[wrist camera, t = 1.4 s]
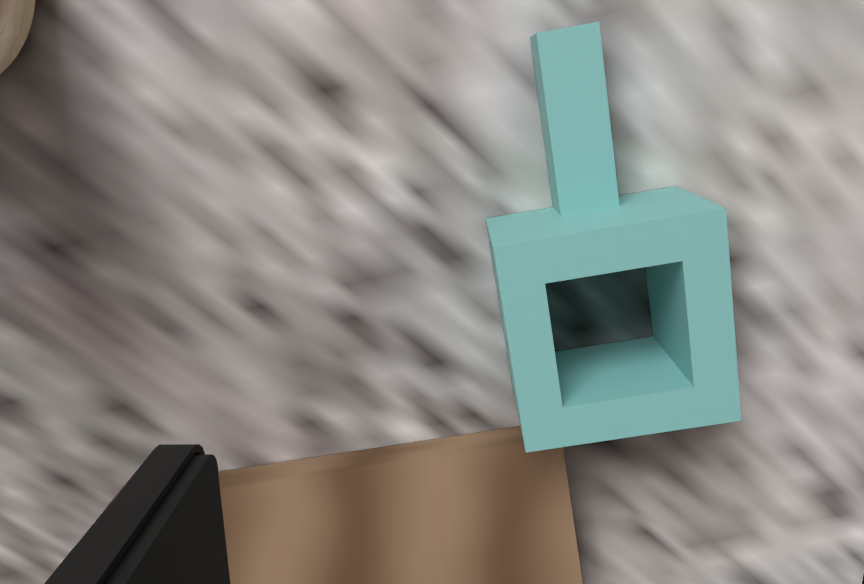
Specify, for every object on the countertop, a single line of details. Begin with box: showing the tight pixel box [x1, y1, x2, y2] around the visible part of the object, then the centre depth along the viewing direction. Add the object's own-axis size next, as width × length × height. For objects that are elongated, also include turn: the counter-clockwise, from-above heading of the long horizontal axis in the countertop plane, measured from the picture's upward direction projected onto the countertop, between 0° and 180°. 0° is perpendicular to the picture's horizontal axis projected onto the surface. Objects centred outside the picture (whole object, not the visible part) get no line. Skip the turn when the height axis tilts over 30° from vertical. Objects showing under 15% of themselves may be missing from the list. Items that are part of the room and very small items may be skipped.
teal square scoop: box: [486, 22, 741, 453], centre depth 25 cm, size 13×7×5 cm, turn 10°
